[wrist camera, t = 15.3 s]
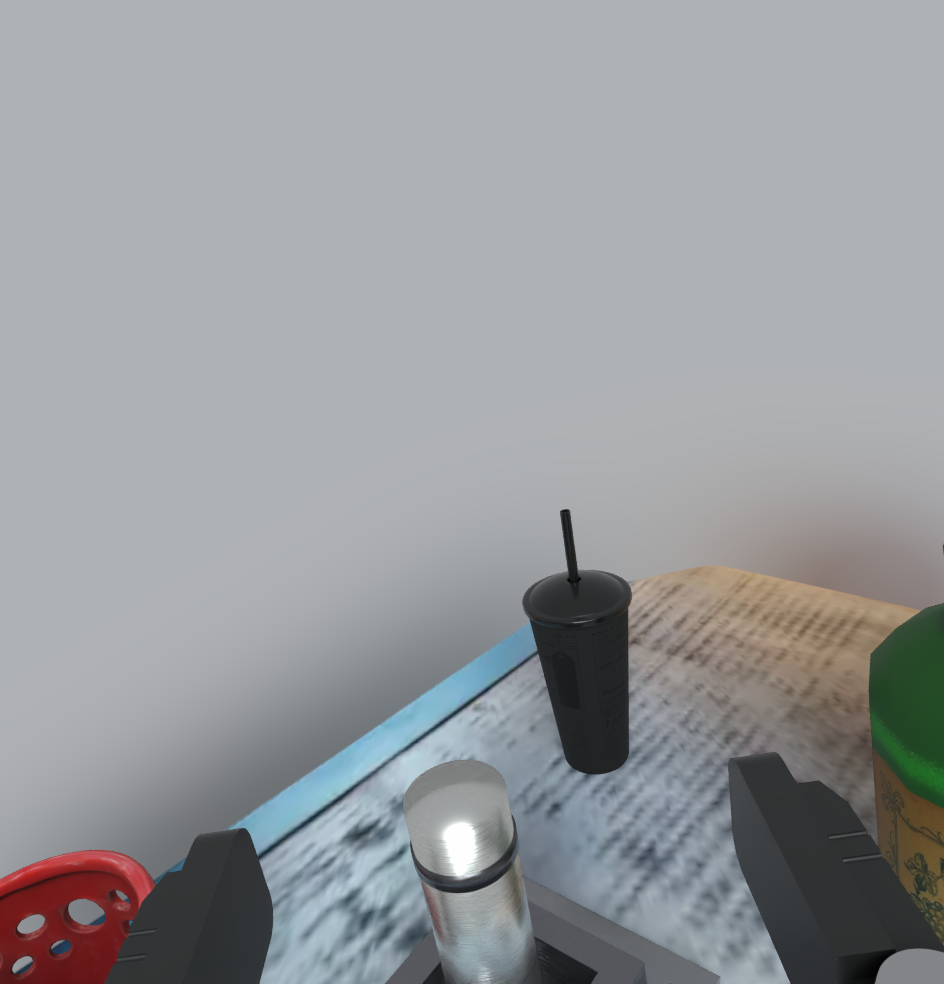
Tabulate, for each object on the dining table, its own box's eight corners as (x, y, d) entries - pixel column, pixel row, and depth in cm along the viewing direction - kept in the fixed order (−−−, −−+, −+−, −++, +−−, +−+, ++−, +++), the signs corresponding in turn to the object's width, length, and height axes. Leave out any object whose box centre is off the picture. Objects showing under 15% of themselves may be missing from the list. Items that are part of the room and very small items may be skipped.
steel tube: (501, 992, 41) (449, 746, 35) (574, 1040, 38) (530, 780, 32) (445, 1068, 38) (378, 811, 32) (520, 1127, 35) (460, 854, 29)
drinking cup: (665, 771, 56) (640, 517, 49) (565, 800, 54) (526, 544, 48) (624, 711, 63) (598, 482, 56) (535, 736, 62) (497, 505, 55)
